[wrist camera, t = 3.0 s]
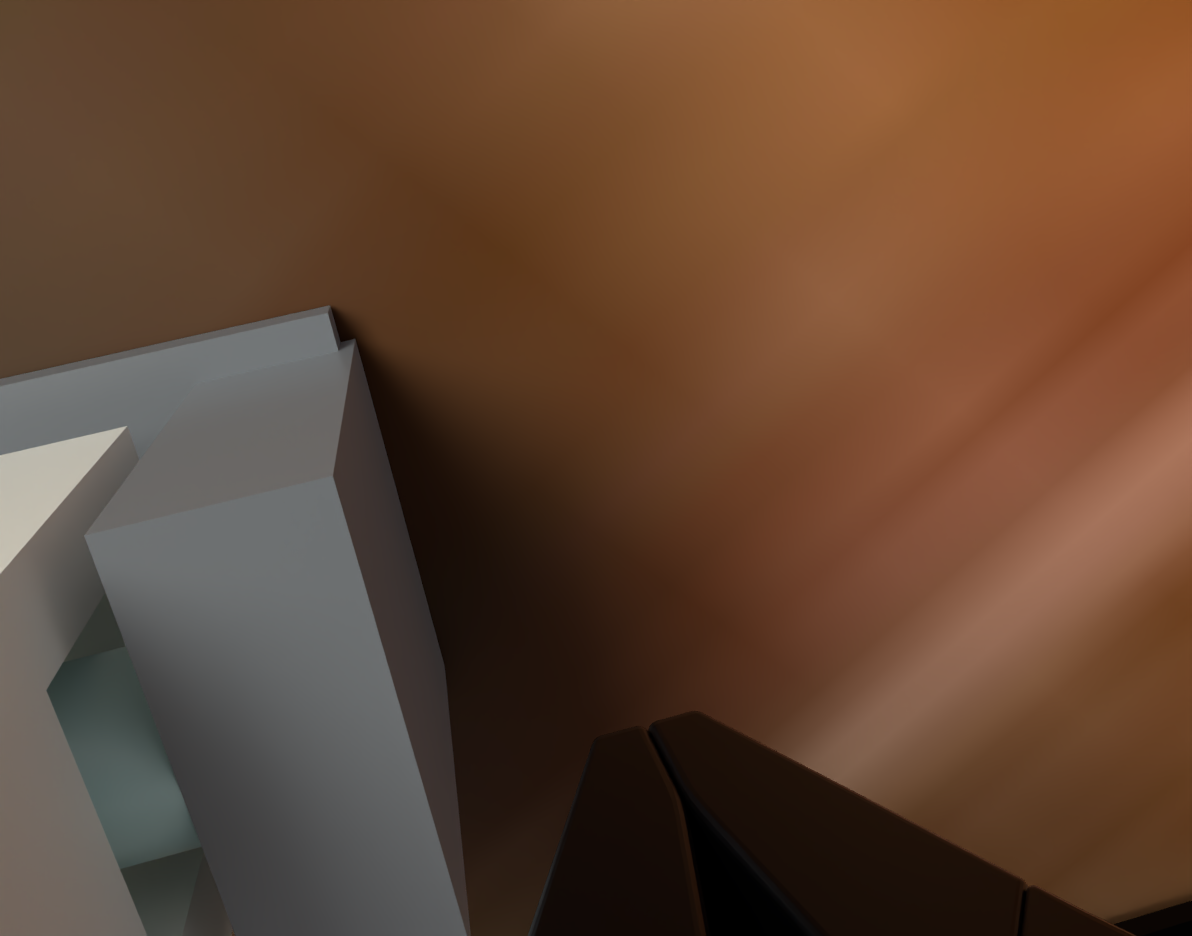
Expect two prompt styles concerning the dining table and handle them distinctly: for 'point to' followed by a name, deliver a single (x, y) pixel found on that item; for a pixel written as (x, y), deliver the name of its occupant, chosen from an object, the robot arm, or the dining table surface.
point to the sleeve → (32, 730)
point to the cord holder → (259, 634)
